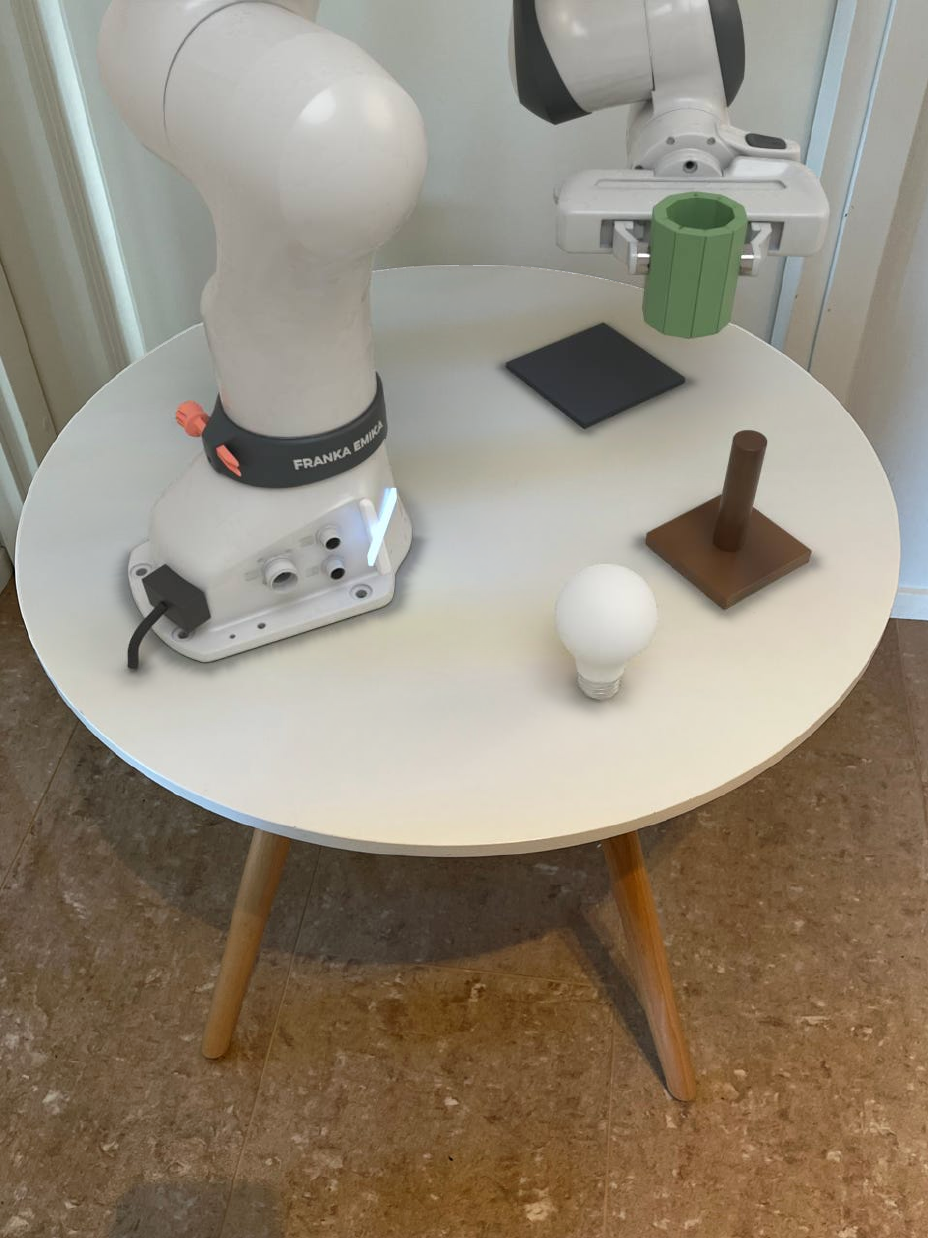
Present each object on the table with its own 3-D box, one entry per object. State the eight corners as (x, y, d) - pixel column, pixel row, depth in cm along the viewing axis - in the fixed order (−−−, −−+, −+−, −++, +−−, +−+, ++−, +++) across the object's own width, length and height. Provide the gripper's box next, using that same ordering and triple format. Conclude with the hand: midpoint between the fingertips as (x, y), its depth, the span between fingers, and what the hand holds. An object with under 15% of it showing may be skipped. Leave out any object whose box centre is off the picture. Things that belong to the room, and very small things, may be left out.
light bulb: (641, 735, 71) (659, 624, 63) (543, 720, 72) (548, 609, 64) (649, 661, 76) (667, 548, 67) (557, 648, 77) (563, 536, 69)
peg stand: (724, 610, 79) (749, 497, 71) (644, 543, 84) (659, 431, 76) (809, 561, 82) (843, 448, 74) (727, 500, 87) (750, 388, 79)
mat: (584, 429, 94) (584, 423, 94) (505, 367, 101) (505, 362, 101) (685, 383, 99) (685, 377, 98) (603, 327, 106) (603, 321, 105)
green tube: (683, 348, 76) (698, 245, 71) (624, 309, 80) (633, 207, 74) (748, 320, 79) (767, 217, 73) (687, 283, 83) (701, 182, 77)
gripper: (555, 138, 84) (550, 222, 74) (819, 140, 82) (848, 226, 73) (552, 215, 88) (548, 303, 79) (802, 218, 87) (828, 308, 77)
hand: (694, 266), depth 76 cm, fingers closed on green tube, 6 cm apart
